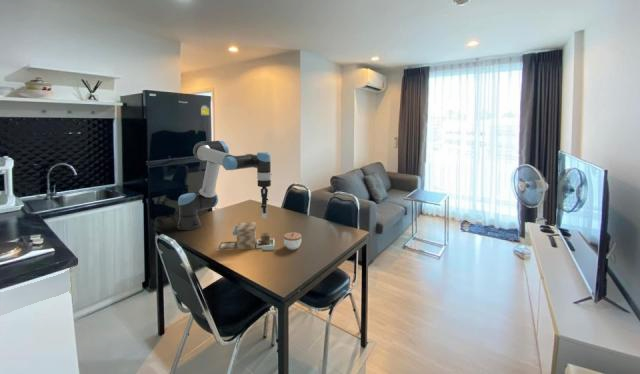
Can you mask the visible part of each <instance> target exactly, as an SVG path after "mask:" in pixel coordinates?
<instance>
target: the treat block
mask: <svg viewBox="0 0 640 374" xmlns="http://www.w3.org/2000/svg"><path fill="white" fill-rule="evenodd" d="M270 235H271V233H270V232H261V234H260V239H261V242H260V244H261V245H270V239H271V237H270Z"/></svg>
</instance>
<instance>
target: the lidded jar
mask: <svg viewBox="0 0 640 374" xmlns="http://www.w3.org/2000/svg"><path fill="white" fill-rule="evenodd" d="M283 243H284V246H285V248H287V249H288V250H290V251H291V250H292V251H293V250H294V251H295V250H297V249H298V248H299V247H300V245H301V243H302V234H301V233H299V232H287V233H285V234H284V235H283Z"/></svg>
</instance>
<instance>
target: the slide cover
mask: <svg viewBox="0 0 640 374" xmlns="http://www.w3.org/2000/svg"><path fill="white" fill-rule="evenodd" d="M237 226H238V225H234V227H233V229H232V236H237V231H236V229H237Z"/></svg>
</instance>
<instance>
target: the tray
mask: <svg viewBox="0 0 640 374" xmlns="http://www.w3.org/2000/svg"><path fill="white" fill-rule="evenodd" d="M275 242H276V241H275V238H270V245H259V243H261V238H258V239H257V238H256V245H255V249H261V251H275V246H276V245H275Z"/></svg>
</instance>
